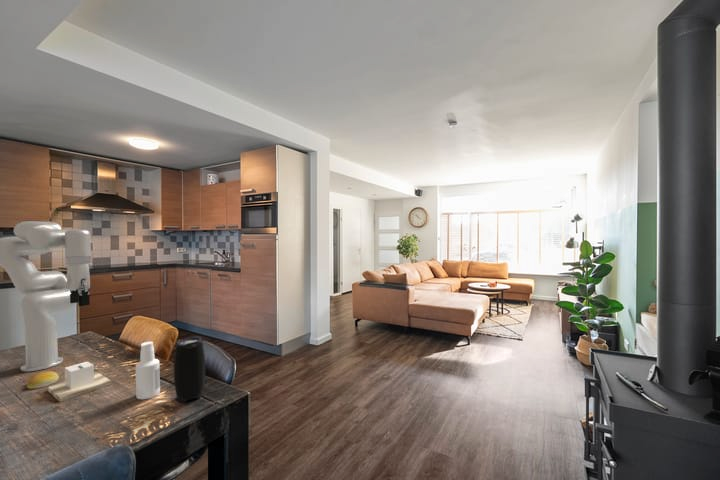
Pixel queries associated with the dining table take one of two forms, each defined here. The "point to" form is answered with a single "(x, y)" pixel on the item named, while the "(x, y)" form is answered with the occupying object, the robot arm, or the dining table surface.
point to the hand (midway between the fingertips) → (79, 304)
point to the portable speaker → (189, 369)
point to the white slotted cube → (79, 375)
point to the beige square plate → (65, 393)
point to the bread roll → (42, 379)
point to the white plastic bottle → (147, 373)
